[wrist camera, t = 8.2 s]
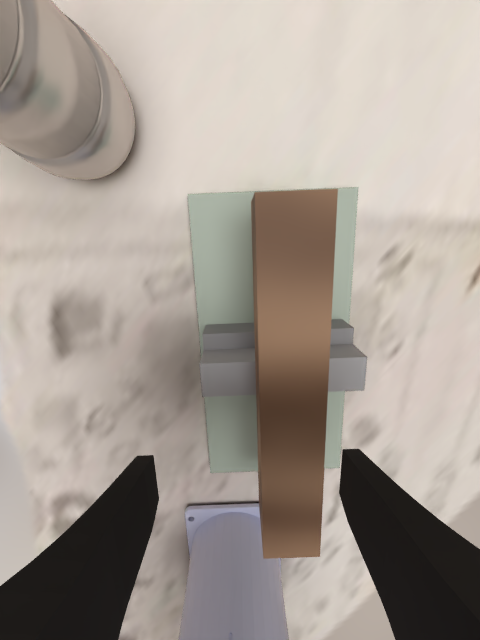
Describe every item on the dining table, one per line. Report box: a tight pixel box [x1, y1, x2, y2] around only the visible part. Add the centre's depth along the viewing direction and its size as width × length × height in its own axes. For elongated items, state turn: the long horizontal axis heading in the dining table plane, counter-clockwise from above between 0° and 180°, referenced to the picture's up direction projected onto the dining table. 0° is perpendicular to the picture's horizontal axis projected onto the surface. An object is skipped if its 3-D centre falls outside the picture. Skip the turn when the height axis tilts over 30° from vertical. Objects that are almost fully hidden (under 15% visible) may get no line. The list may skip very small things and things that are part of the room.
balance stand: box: [188, 187, 367, 473], centre depth 18 cm, size 20×10×5 cm, turn 2°
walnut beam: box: [251, 189, 338, 559], centre depth 14 cm, size 18×3×3 cm, turn 2°
